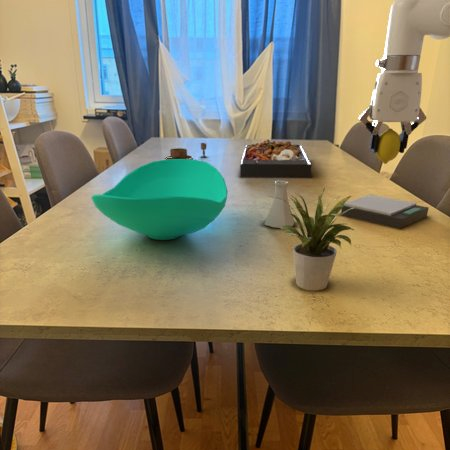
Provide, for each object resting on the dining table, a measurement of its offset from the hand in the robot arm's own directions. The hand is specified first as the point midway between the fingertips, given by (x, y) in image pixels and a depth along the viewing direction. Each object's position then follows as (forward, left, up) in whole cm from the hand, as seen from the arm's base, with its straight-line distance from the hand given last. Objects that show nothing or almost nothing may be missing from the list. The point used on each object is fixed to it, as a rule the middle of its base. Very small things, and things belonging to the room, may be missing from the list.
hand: (387, 151), depth 103 cm
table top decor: (+26, +47, -16) cm, 56 cm away
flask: (+13, +23, -16) cm, 31 cm away
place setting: (+97, -17, -16) cm, 99 cm away
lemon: (0, 0, -3) cm, 3 cm away
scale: (0, -1, -16) cm, 16 cm away
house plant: (-12, +46, -16) cm, 50 cm away
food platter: (+64, -34, -16) cm, 74 cm away
